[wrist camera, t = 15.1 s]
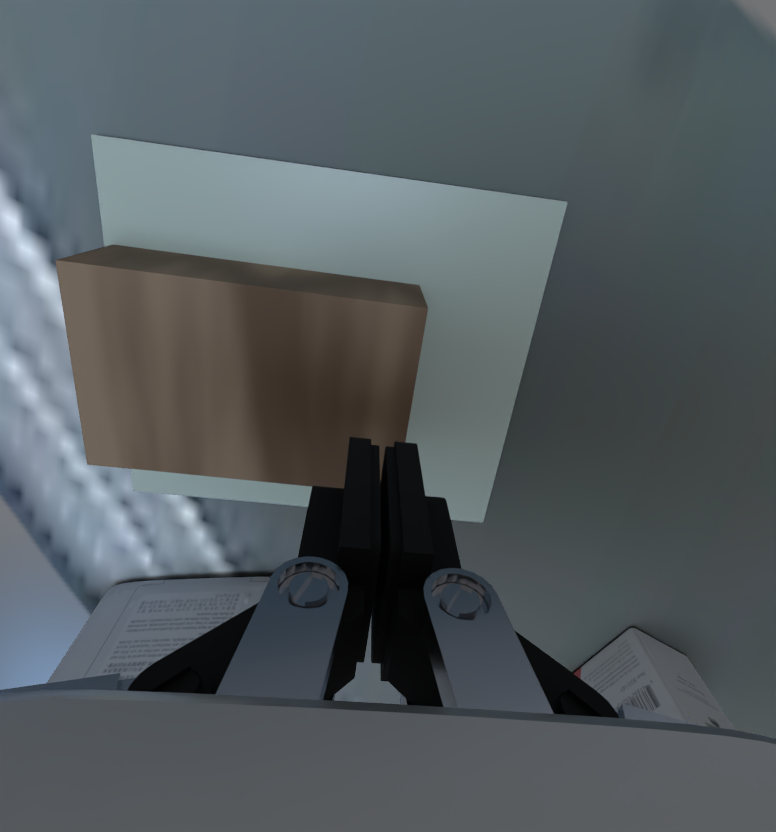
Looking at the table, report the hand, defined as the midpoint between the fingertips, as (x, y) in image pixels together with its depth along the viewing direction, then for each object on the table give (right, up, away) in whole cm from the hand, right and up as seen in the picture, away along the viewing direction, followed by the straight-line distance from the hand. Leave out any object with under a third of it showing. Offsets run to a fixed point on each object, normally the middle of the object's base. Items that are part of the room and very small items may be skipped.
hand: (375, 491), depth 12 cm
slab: (+1, +3, +6) cm, 7 cm away
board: (-2, +4, +8) cm, 9 cm away
